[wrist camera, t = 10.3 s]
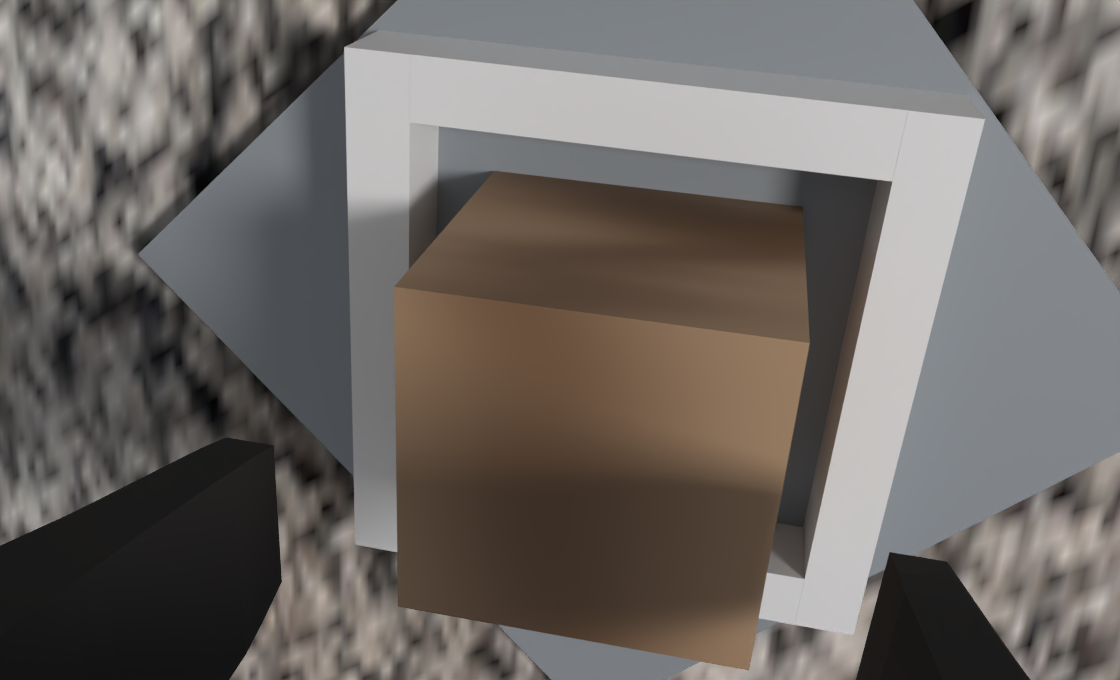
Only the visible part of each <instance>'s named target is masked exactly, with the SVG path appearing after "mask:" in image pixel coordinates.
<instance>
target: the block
mask: <svg viewBox="0 0 1120 680" xmlns="http://www.w3.org/2000/svg"><path fill="white" fill-rule="evenodd" d="M394 331H395V411H396V491H397V572H398V607H404V608H409V609H415V610H420V611H426V612H431V613H437V614H442V615H448V616H453V617H459V618H465V619H470V620H476V621H481V622H487V623H492V624H498V625H503V626H509V627H514V628H520V629H525V630H531V631H536V632H542V633H547V634H553V635H558V636H564V637H569V638H575V639H580V640H586V641H591V642H597V643H602V644H608V645H613V646H619V647H624V648H630V649H635V650H641V651H646V652H652V653H657V654H663V655H668V656H674V657H679V658H685V659H690V660H696V661H701V662H707V663H712V664H718V665H723V666H729V667H734V668H740V669H745V670H749V667H750V661H751V656H752V651H753V645H754V640H755V634H756V629H757V624H758V618H759V613H760V608H761V602H762V597H763V592H764V586H765V581H766V575H767V570H768V565H769V559H770V554H771V549H772V543H773V538H774V533H775V527H776V522H777V516H778V511H779V506H780V500H781V495H782V490H783V484H784V479H785V473H786V468H787V463H788V457H789V452H790V447H791V441H792V436H793V431H794V425H795V420H796V414H797V409H798V404H799V398H800V393H801V388H802V382H803V377H804V372H805V366H806V361H807V355H808V350H809V345H810V337H809V318H808V299H807V280H806V261H805V243H804V224H803V207H800V206H792V205H783V204H775V203H766V202H758V201H749V200H740V199H732V198H723V197H715V196H706V195H698V194H689V193H681V192H672V191H663V190H655V189H646V188H638V187H629V186H621V185H612V184H604V183H595V182H586V181H578V180H569V179H561V178H552V177H544V176H535V175H527V174H518V173H509V172H501V171H494V172H493V173H492V174H491V175H490V177H489V178H488V179H487V180H486V181H485V182H484V183H483V185H482V186H481V187H480V188H479V189H478V190H477V192H476V193H475V194H474V195H473V196H472V197H471V198H470V200H469V201H468V202H467V203H466V204H465V205H464V207H463V208H462V209H461V210H460V211H459V212H458V213H457V215H456V216H455V217H454V218H453V219H452V220H451V222H450V223H449V224H448V225H447V226H446V227H445V228H444V230H443V231H442V232H441V233H440V234H439V235H438V237H437V238H436V239H435V240H434V241H433V242H432V243H431V245H430V246H429V247H428V248H427V249H426V250H425V252H424V253H423V254H422V255H421V256H420V257H419V258H418V260H417V261H416V262H415V263H414V264H413V265H412V267H411V268H410V269H409V270H408V271H407V272H406V273H405V275H404V276H403V277H402V278H401V279H400V280H399V281H398V283H397V284H396V285H395V286H394Z"/></svg>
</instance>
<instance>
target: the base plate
mask: <svg viewBox="0 0 1120 680" xmlns="http://www.w3.org/2000/svg"><path fill="white" fill-rule="evenodd" d="M494 171H501V172H509V173H518V174H527V175H535V176H544V177H552V178H561V179H569V180H578V181H586V182H595V183H604V184H612V185H621V186H629V187H638V188H646V189H655V190H663V191H672V192H681V193H689V194H698V195H706V196H715V197H723V198H732V199H740V200H749V201H758V202H766V203H775V204H783V205H792V206H800V207H803V224H804V243H805V261H806V280H807V299H808V318H809V337H810V345H809V350H808V355H807V361H806V366H805V372H804V377H803V382H802V388H801V393H800V398H799V404H798V409H797V414H796V420H795V425H794V431H793V436H792V441H791V447H790V452H789V457H788V463H787V468H786V473H785V479H784V484H783V490H782V495H781V500H780V506H779V511H778V516H777V522H776V527H775V533H774V538H773V543H772V549H771V554H770V559H769V565H768V570H767V575H766V581H765V586H764V592H763V597H762V602H761V608H760V613H759V618H758V624H757V629H756V633H758V632H760V631H762V630H764V629H766V628H768V627H770V626H772V625H774V624H776V623H778V622H782V623H788V624H793V625H794V624H795V625H799V626H804V627H810V628H815V629H821V630H826V631H832V632H837V633H843V634H848V635H853V634H854V631H855V627H856V623H857V619H858V615H859V611H860V607H861V603H862V599H863V595H864V591H865V587H866V584H867V580H868V577H870V576H872V575H874V574H876V573H878V572H880V571H882V570H884V569H885V567H886V564H887V560H888V556H889V552H893V553H898V554H904V555H910V556H912V555H914V554H916V553H918V552H920V551H922V550H924V549H926V548H928V547H930V546H932V545H934V544H936V543H938V542H940V541H942V540H944V539H946V538H948V537H950V536H952V535H954V534H956V533H958V532H960V531H962V530H964V529H966V528H968V527H970V526H972V525H974V524H976V523H978V522H980V521H982V520H984V519H986V518H988V517H990V516H992V515H994V514H996V513H998V512H1000V511H1002V510H1004V509H1006V508H1008V507H1010V506H1012V505H1014V504H1016V503H1018V502H1020V501H1022V500H1024V499H1026V498H1028V497H1030V496H1032V495H1034V494H1036V493H1038V492H1040V491H1042V490H1044V489H1046V488H1048V487H1050V486H1052V485H1054V484H1056V483H1058V482H1060V481H1062V480H1064V479H1066V478H1068V477H1070V476H1072V475H1074V474H1076V473H1078V472H1080V471H1082V470H1084V469H1086V468H1088V467H1090V466H1092V465H1094V464H1096V463H1098V462H1100V461H1102V460H1104V459H1106V458H1108V457H1110V456H1112V455H1114V454H1116V453H1118V452H1120V292H1119V291H1118V289H1117V288H1116V286H1115V285H1114V284H1113V282H1112V281H1111V279H1110V278H1109V276H1108V275H1107V274H1106V272H1105V271H1104V269H1103V268H1102V267H1101V265H1100V264H1099V262H1098V261H1097V260H1096V258H1095V257H1094V255H1093V254H1092V252H1091V251H1090V250H1089V248H1088V247H1087V245H1086V244H1085V243H1084V241H1083V240H1082V238H1081V237H1080V235H1079V234H1078V233H1077V231H1076V230H1075V228H1074V227H1073V226H1072V224H1071V223H1070V221H1069V220H1068V219H1067V217H1066V216H1065V214H1064V213H1063V211H1062V210H1061V209H1060V207H1059V206H1058V204H1057V203H1056V202H1055V200H1054V199H1053V197H1052V196H1051V194H1050V193H1049V192H1048V190H1047V189H1046V187H1045V186H1044V185H1043V183H1042V182H1041V180H1040V179H1039V178H1038V176H1037V175H1036V173H1035V172H1034V170H1033V169H1032V168H1031V166H1030V165H1029V163H1028V162H1027V161H1026V159H1025V158H1024V156H1023V155H1022V153H1021V152H1020V151H1019V149H1018V148H1017V146H1016V145H1015V144H1014V142H1013V141H1012V139H1011V138H1010V137H1009V135H1008V134H1007V132H1006V131H1005V129H1004V128H1003V127H1002V125H1001V124H1000V122H999V121H998V120H997V118H996V117H995V115H994V114H993V112H992V111H991V110H990V108H989V107H988V105H987V104H986V103H985V101H984V100H983V98H982V97H981V96H980V94H979V93H978V91H977V90H976V88H975V87H974V86H973V84H972V83H971V81H970V80H969V79H968V77H967V76H966V74H965V73H964V71H963V70H962V69H961V67H960V66H959V64H958V63H957V62H956V60H955V59H954V57H953V56H952V55H951V53H950V52H949V50H948V49H947V47H946V46H945V45H944V43H943V42H942V40H941V39H940V38H939V36H938V35H937V33H936V32H935V30H934V29H933V28H932V26H931V25H930V23H929V22H928V21H927V19H926V18H925V16H924V15H923V13H922V12H921V11H920V9H919V8H918V6H917V5H916V4H915V2H914V1H913V0H397V1H396V2H395V3H394V4H393V5H392V6H391V7H390V8H389V9H388V10H387V11H386V12H385V13H384V14H383V15H382V16H381V17H380V18H379V19H378V20H377V21H376V22H375V23H374V24H373V25H372V26H371V27H369V28H368V29H367V30H366V31H365V32H364V33H363V34H362V35H361V36H360V37H359V38H358V39H357V40H356V41H355V42H354V43H352V44H349V45H347V46H345V47H344V53H343V54H342V55H341V56H340V57H339V58H338V59H337V60H336V61H335V62H334V63H333V64H332V65H331V66H330V67H329V68H328V69H327V70H326V71H325V72H324V73H323V74H321V75H320V76H319V77H318V78H317V79H316V80H315V81H314V82H313V83H312V84H311V85H310V86H309V87H308V88H307V89H306V90H305V91H304V92H303V93H302V94H301V95H300V96H299V97H298V98H297V99H296V100H295V101H294V102H293V103H292V104H291V105H290V106H289V107H288V108H287V109H286V110H285V111H284V112H283V113H282V114H281V115H280V116H279V117H278V118H277V119H276V120H274V121H273V122H272V123H271V124H270V125H269V126H268V127H267V128H266V129H265V130H264V131H263V132H262V133H261V134H260V135H259V136H258V137H257V138H256V139H255V140H254V141H253V142H252V143H251V144H250V145H249V146H248V147H247V148H246V149H245V150H244V151H243V152H242V153H241V154H240V155H239V156H238V157H237V158H236V159H235V160H234V161H233V162H232V163H231V164H230V165H229V166H227V167H226V168H225V169H224V170H223V171H222V172H221V173H220V174H219V175H218V176H217V177H216V178H215V179H214V180H213V181H212V182H211V183H210V184H209V185H208V186H207V187H206V188H205V189H204V190H203V191H202V192H201V193H200V194H199V195H198V196H197V197H196V198H195V199H194V200H193V201H192V202H191V203H190V204H189V205H188V206H187V207H186V208H185V209H184V210H183V211H182V212H180V213H179V214H178V215H177V216H176V217H175V218H174V219H173V220H172V221H171V222H170V223H169V224H168V225H167V226H166V227H165V228H164V229H163V230H162V231H161V232H160V233H159V234H158V235H157V236H156V237H155V238H154V239H153V240H152V241H151V242H150V243H149V244H148V245H147V246H146V247H145V248H144V249H143V250H142V251H141V252H140V253H139V254H138V255H139V256H140V257H141V258H142V259H143V260H144V261H145V262H146V263H147V264H148V265H149V266H150V267H151V268H152V269H153V270H154V271H155V273H156V274H157V275H158V276H159V277H160V278H161V279H162V280H163V281H164V282H165V283H166V284H167V285H168V286H169V287H170V288H171V289H172V290H173V291H174V292H175V293H176V294H177V295H178V296H179V297H180V298H181V299H182V300H183V301H184V302H185V303H186V304H187V305H188V306H189V307H190V309H191V310H192V311H193V312H194V313H195V314H196V315H197V316H198V317H199V318H200V319H201V320H202V321H203V322H204V323H205V324H206V325H207V326H208V327H209V328H210V329H211V330H212V331H213V332H214V333H215V334H216V335H217V336H218V337H219V338H220V339H221V340H222V341H223V342H224V344H225V345H226V346H227V347H228V348H229V349H230V350H231V351H232V352H233V353H234V354H235V355H236V356H237V357H238V358H239V359H240V360H241V361H242V362H243V363H244V364H245V365H246V366H247V367H248V368H249V369H250V370H251V371H252V372H253V373H254V374H255V375H256V376H257V377H258V378H259V380H260V381H261V382H262V383H263V384H264V385H265V386H266V387H267V388H268V389H269V390H270V391H271V392H272V393H273V394H274V395H275V396H276V397H277V398H278V399H279V400H280V401H281V402H282V403H283V404H284V405H285V406H286V407H287V408H288V409H289V410H290V411H291V412H292V413H293V415H294V416H295V417H296V418H297V419H298V420H299V421H300V422H301V423H302V424H303V425H304V426H305V427H306V428H307V429H308V430H309V431H310V432H311V433H312V434H313V435H314V436H315V437H316V438H317V439H318V440H319V441H320V442H321V443H322V444H323V445H324V446H325V447H326V448H327V450H328V451H329V452H330V453H331V454H332V455H333V456H334V457H335V458H336V459H337V460H338V461H339V462H340V463H341V464H342V465H343V466H344V467H345V468H346V469H347V470H348V471H349V472H350V473H351V474H352V475H353V476H354V512H355V545H361V546H366V547H372V548H377V549H383V550H388V551H394V552H397V491H396V411H395V331H394V286H395V285H396V284H397V283H398V281H399V280H400V279H401V278H402V277H403V276H404V275H405V273H406V272H407V271H408V270H409V269H410V268H411V267H412V265H413V264H414V263H415V262H416V261H417V260H418V258H419V257H420V256H421V255H422V254H423V253H424V252H425V250H426V249H427V248H428V247H429V246H430V245H431V243H432V242H433V241H434V240H435V239H436V238H437V237H438V235H439V234H440V233H441V232H442V231H443V230H444V228H445V227H446V226H447V225H448V224H449V223H450V222H451V220H452V219H453V218H454V217H455V216H456V215H457V213H458V212H459V211H460V210H461V209H462V208H463V207H464V205H465V204H466V203H467V202H468V201H469V200H470V198H471V197H472V196H473V195H474V194H475V193H476V192H477V190H478V189H479V188H480V187H481V186H482V185H483V183H484V182H485V181H486V180H487V179H488V178H489V177H490V175H491V174H492V173H493V172H494ZM499 626H500V628H501V629H502V630H503V631H504V632H505V633H506V634H507V635H508V636H509V637H510V638H511V639H512V640H513V641H514V642H515V643H516V644H517V645H518V646H519V647H520V648H521V649H522V650H523V651H524V652H525V653H526V654H527V655H528V656H529V657H530V658H531V659H532V660H533V661H534V663H535V664H536V665H537V666H538V667H539V668H540V669H541V670H542V671H543V672H544V673H545V674H546V675H547V676H548V677H549V678H550V679H551V680H665V679H667V678H669V677H671V676H673V675H675V674H677V673H679V672H681V671H683V670H685V669H687V668H689V667H691V666H693V665H695V664H697V663H699V662H701V661H696V660H690V659H685V658H679V657H674V656H668V655H663V654H657V653H652V652H646V651H641V650H635V649H630V648H624V647H619V646H613V645H608V644H602V643H597V642H591V641H586V640H580V639H575V638H569V637H564V636H558V635H553V634H547V633H542V632H536V631H531V630H525V629H520V628H514V627H509V626H503V625H499Z"/></svg>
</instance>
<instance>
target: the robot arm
mask: <svg viewBox="0 0 1120 680" xmlns="http://www.w3.org/2000/svg"><path fill="white" fill-rule="evenodd" d="M281 582H282V579H281V563H280V546H279V529H278V513H277V496H276V480H275V463H274V446H272V445H267V444H261V443H255V442H249V441H243V440H238V439H232V438H224V439H222V440H219V441H217V442H214V443H212V444H210V445H208V446H205V447H203V448H201V449H199V450H197V451H195V452H193V453H191V454H189V455H187V456H185V457H183V458H181V459H179V460H177V461H175V462H173V463H171V464H169V465H167V466H165V467H163V468H161V469H159V470H157V471H155V472H153V473H151V474H149V475H147V476H145V477H143V478H141V479H139V480H137V481H135V482H133V483H131V484H129V485H127V486H125V487H123V488H121V489H119V490H117V491H115V492H113V493H111V494H109V495H107V496H105V497H103V498H101V499H99V500H97V501H95V502H93V503H91V504H89V505H87V506H85V507H83V508H81V509H79V510H77V511H75V512H73V513H71V514H69V515H67V516H65V517H62V518H60V519H58V520H56V521H54V522H51V523H49V524H47V525H45V526H43V527H40V528H38V529H36V530H34V531H32V532H30V533H27V534H25V535H23V536H21V537H19V538H16V539H14V540H12V541H10V542H8V543H5V544H3V545H1V546H0V680H229V679H230V678H231V676H232V675H233V673H234V672H235V670H236V668H237V667H238V665H239V664H240V662H241V661H242V659H243V658H244V656H245V655H246V653H247V651H248V649H249V647H250V645H251V643H252V641H253V639H254V637H255V636H256V634H257V632H258V630H259V628H260V626H261V624H262V622H263V620H264V618H265V616H266V614H267V611H268V609H269V607H270V605H271V603H272V601H273V599H274V597H275V595H276V593H277V591H278V588H279V586H280V584H281ZM856 680H1030V679H1029V677H1028V676H1027V675H1026V673H1025V672H1024V671H1023V669H1022V668H1021V666H1020V665H1019V664H1018V662H1017V661H1016V660H1015V658H1014V657H1013V655H1012V654H1011V653H1010V651H1009V650H1008V648H1007V647H1006V646H1005V644H1004V643H1003V641H1002V640H1001V639H1000V637H999V636H998V634H997V633H996V631H995V630H994V629H993V627H992V626H991V624H990V623H989V621H988V620H987V618H986V617H985V616H984V614H983V613H982V611H981V610H980V608H979V607H978V605H977V604H976V603H975V601H974V600H973V598H972V597H971V595H970V594H969V592H968V591H967V589H966V588H965V587H964V585H963V584H962V582H961V581H960V579H959V578H958V577H957V575H956V574H955V572H954V571H953V570H952V568H951V567H950V565H949V564H948V563H947V562H945V561H939V560H933V559H927V558H922V557H916V556H910V555H904V554H898V553H893V552H889V556H888V560H887V564H886V567H885V571H884V575H883V579H882V583H881V587H880V590H879V594H878V598H877V602H876V606H875V609H874V613H873V617H872V621H871V625H870V628H869V632H868V636H867V640H866V644H865V648H864V651H863V655H862V659H861V663H860V667H859V670H858V674H857V678H856Z"/></svg>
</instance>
